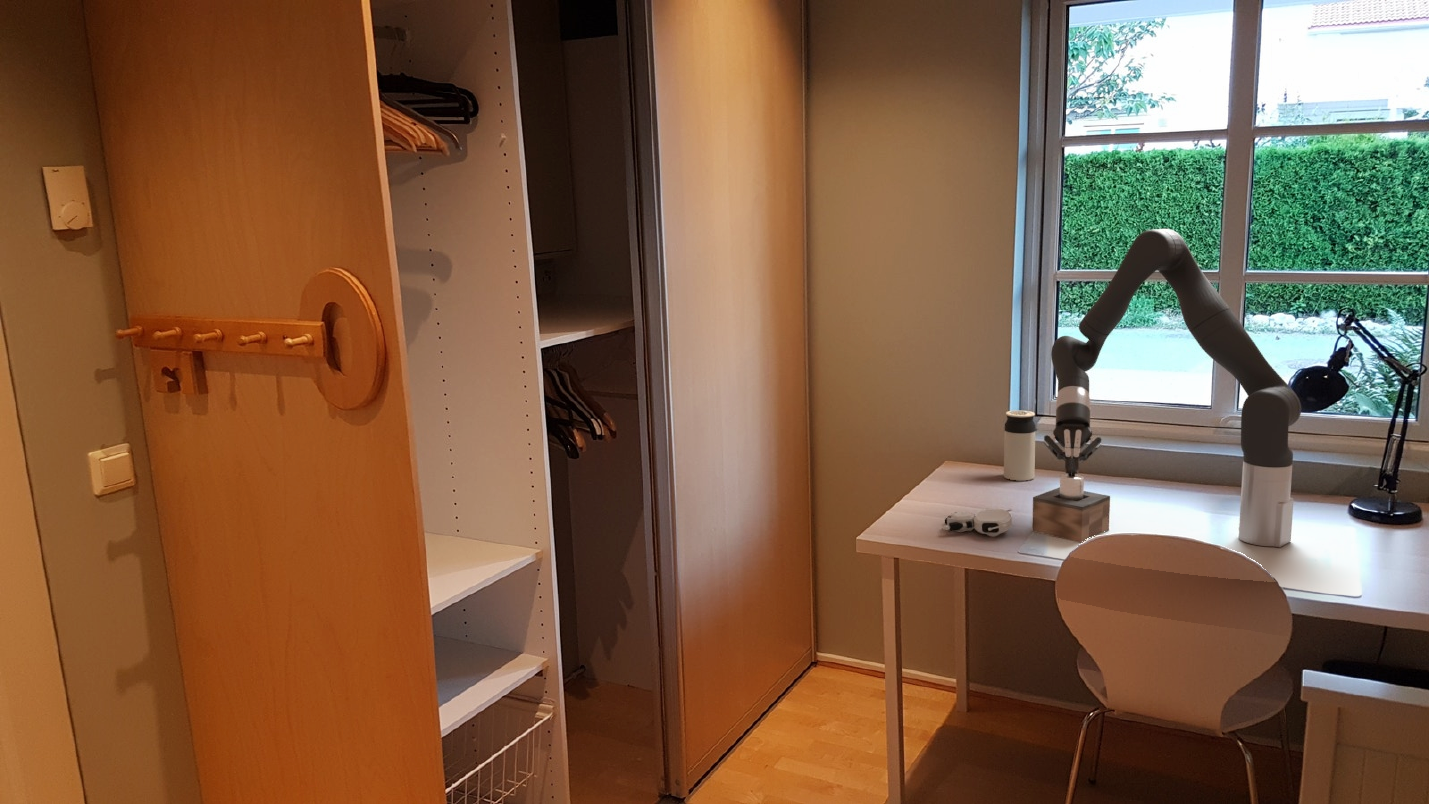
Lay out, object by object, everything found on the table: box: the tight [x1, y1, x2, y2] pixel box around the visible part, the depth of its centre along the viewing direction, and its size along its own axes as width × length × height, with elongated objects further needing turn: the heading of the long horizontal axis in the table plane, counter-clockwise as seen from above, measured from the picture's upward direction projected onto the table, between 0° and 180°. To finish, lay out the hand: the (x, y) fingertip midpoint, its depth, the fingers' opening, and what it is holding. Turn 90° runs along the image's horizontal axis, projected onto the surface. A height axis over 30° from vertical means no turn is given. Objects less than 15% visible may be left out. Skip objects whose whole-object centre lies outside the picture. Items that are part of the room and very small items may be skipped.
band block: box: [1031, 486, 1111, 543], centre depth 229 cm, size 12×12×8 cm
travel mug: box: [1003, 409, 1036, 482], centre depth 275 cm, size 8×8×18 cm
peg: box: [1059, 473, 1085, 502], centre depth 228 cm, size 5×5×8 cm
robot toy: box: [941, 508, 1013, 537], centre depth 231 cm, size 12×4×15 cm
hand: (1071, 474), depth 227 cm, fingers closed
